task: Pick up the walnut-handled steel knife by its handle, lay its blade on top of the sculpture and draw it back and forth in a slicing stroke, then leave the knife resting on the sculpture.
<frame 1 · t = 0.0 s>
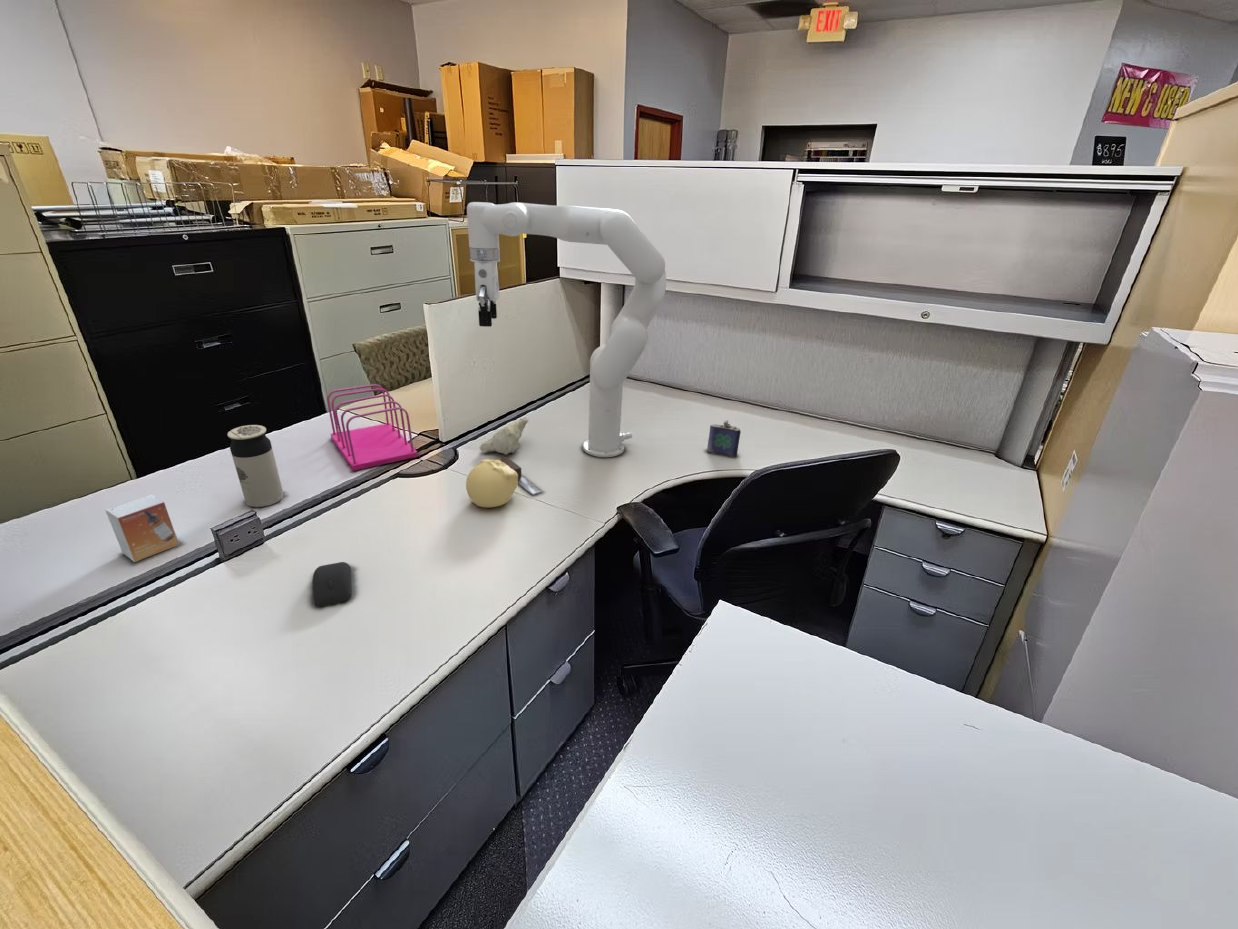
hand: (488, 322, 151), 37 cm above the table, tool pointing down, fingers open, 9 cm apart
white jagged rock: (507, 448, 168), on the table
knife: (517, 478, 151), on the table
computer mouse: (333, 587, 108), on the table
small box: (152, 550, 116), on the table
file sorter: (373, 448, 163), on the table
flask: (721, 454, 172), on the table
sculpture: (492, 501, 140), on the table
travel mug: (265, 500, 135), on the table
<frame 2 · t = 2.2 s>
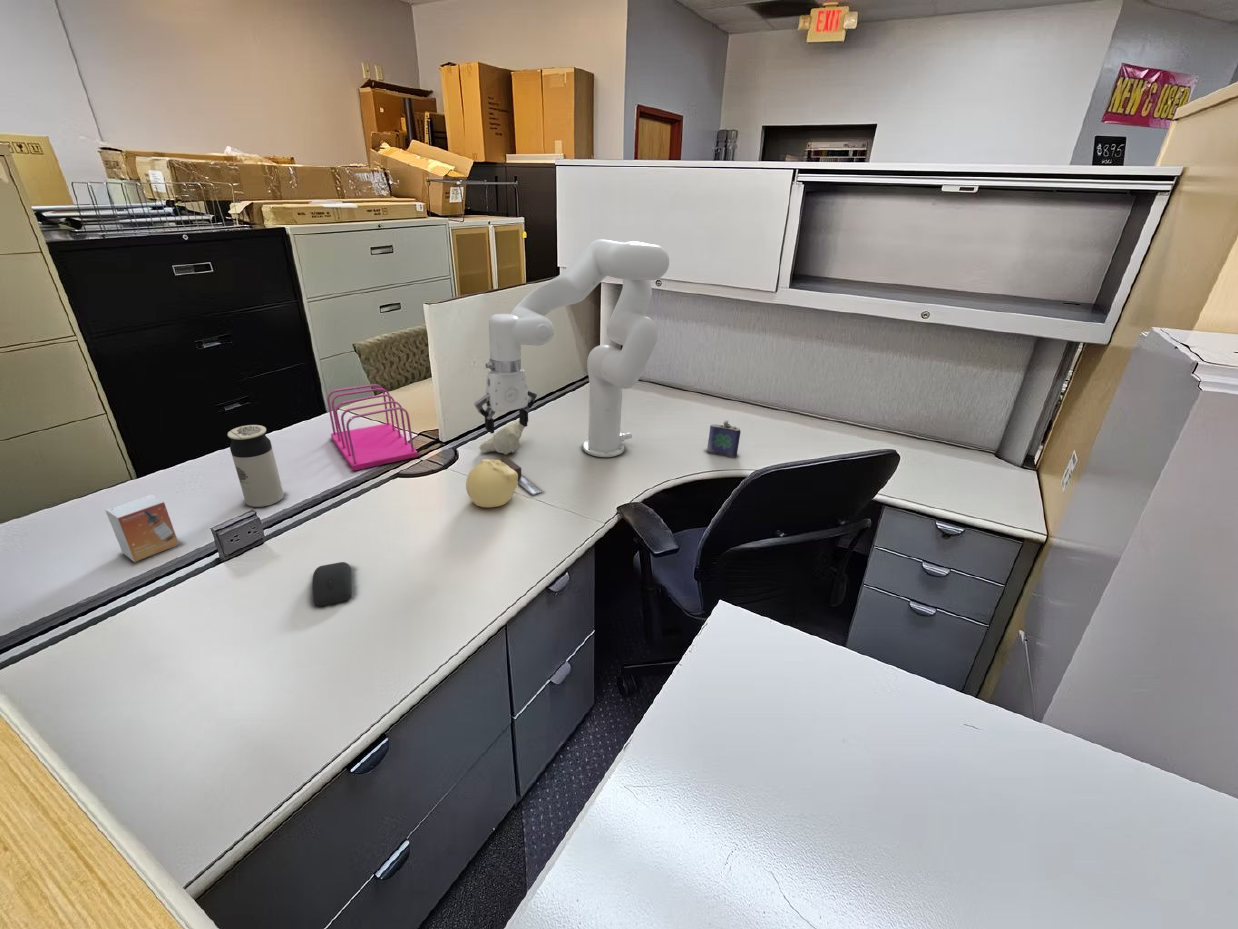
hand: (507, 428, 147), 13 cm above the table, tool pointing down, fingers open, 9 cm apart
nothing on the table moved.
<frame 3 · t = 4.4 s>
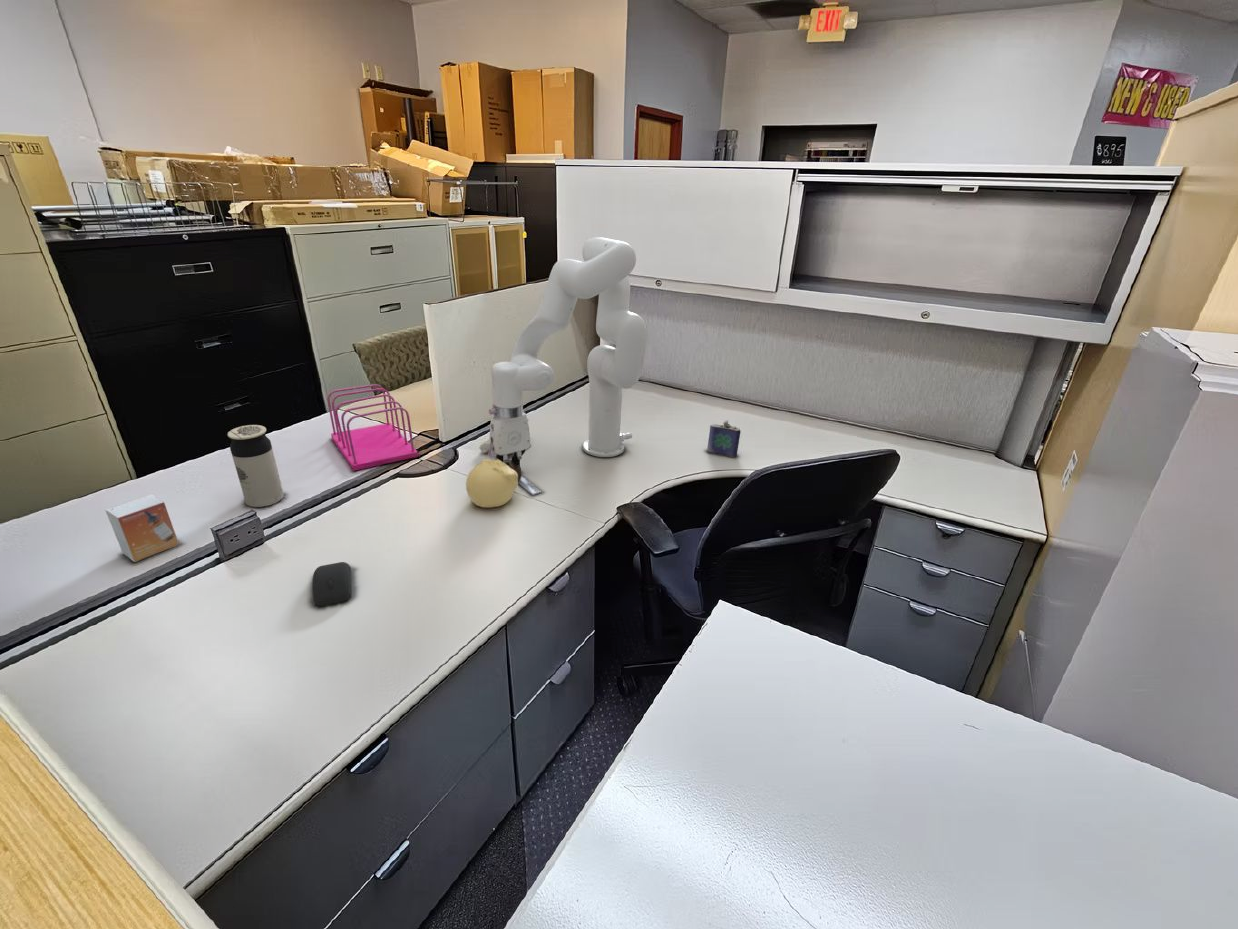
hand: (510, 472, 153), 0 cm above the table, tool pointing down, fingers closed on knife, 2 cm apart
knife: (518, 478, 151), on the table, touching gripper
everything else where it was.
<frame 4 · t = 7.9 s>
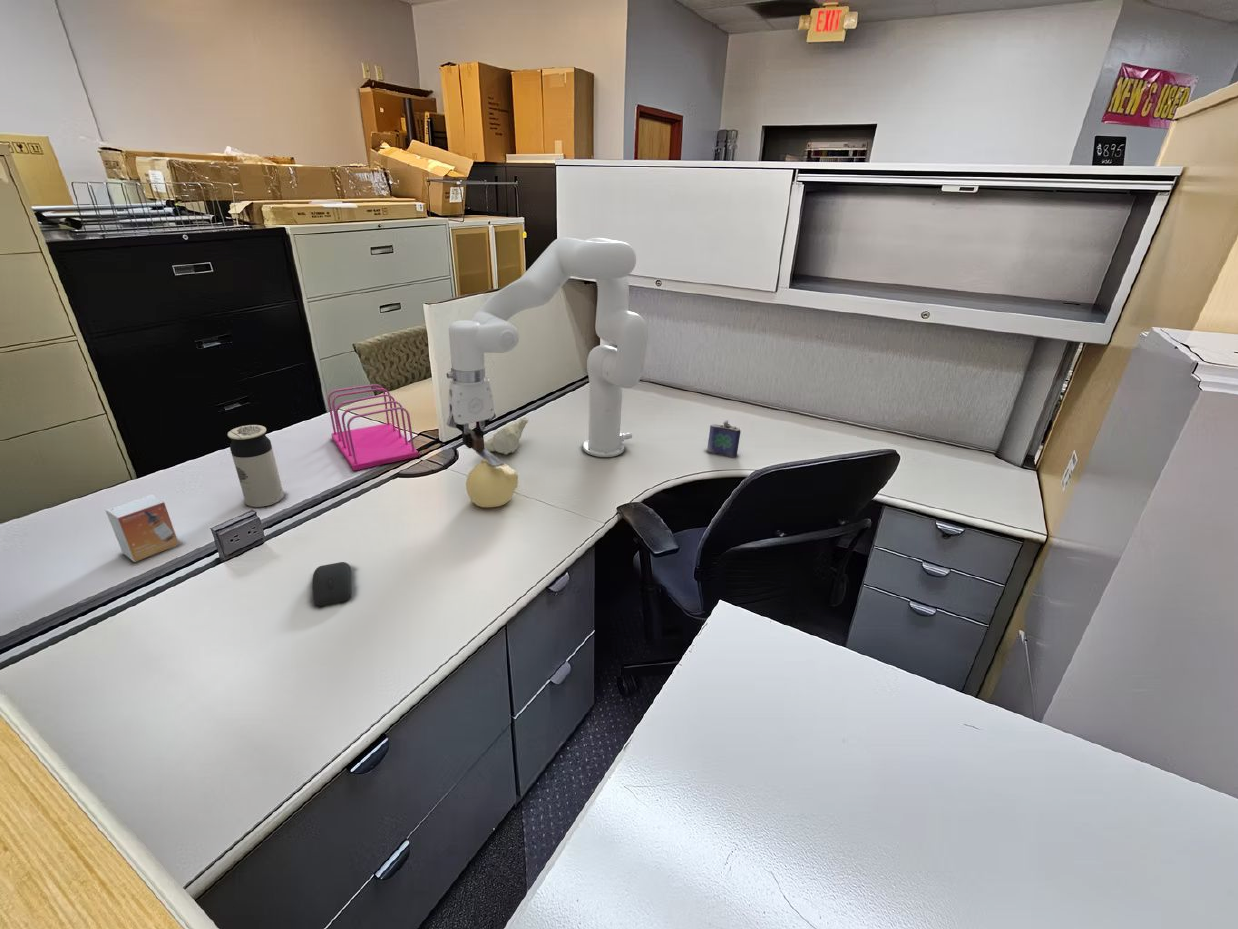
hand: (473, 444, 140), 12 cm above the table, tool pointing down, fingers closed on knife, 2 cm apart
knife: (480, 451, 138), point 12 cm above the table, touching gripper
everything else where it was.
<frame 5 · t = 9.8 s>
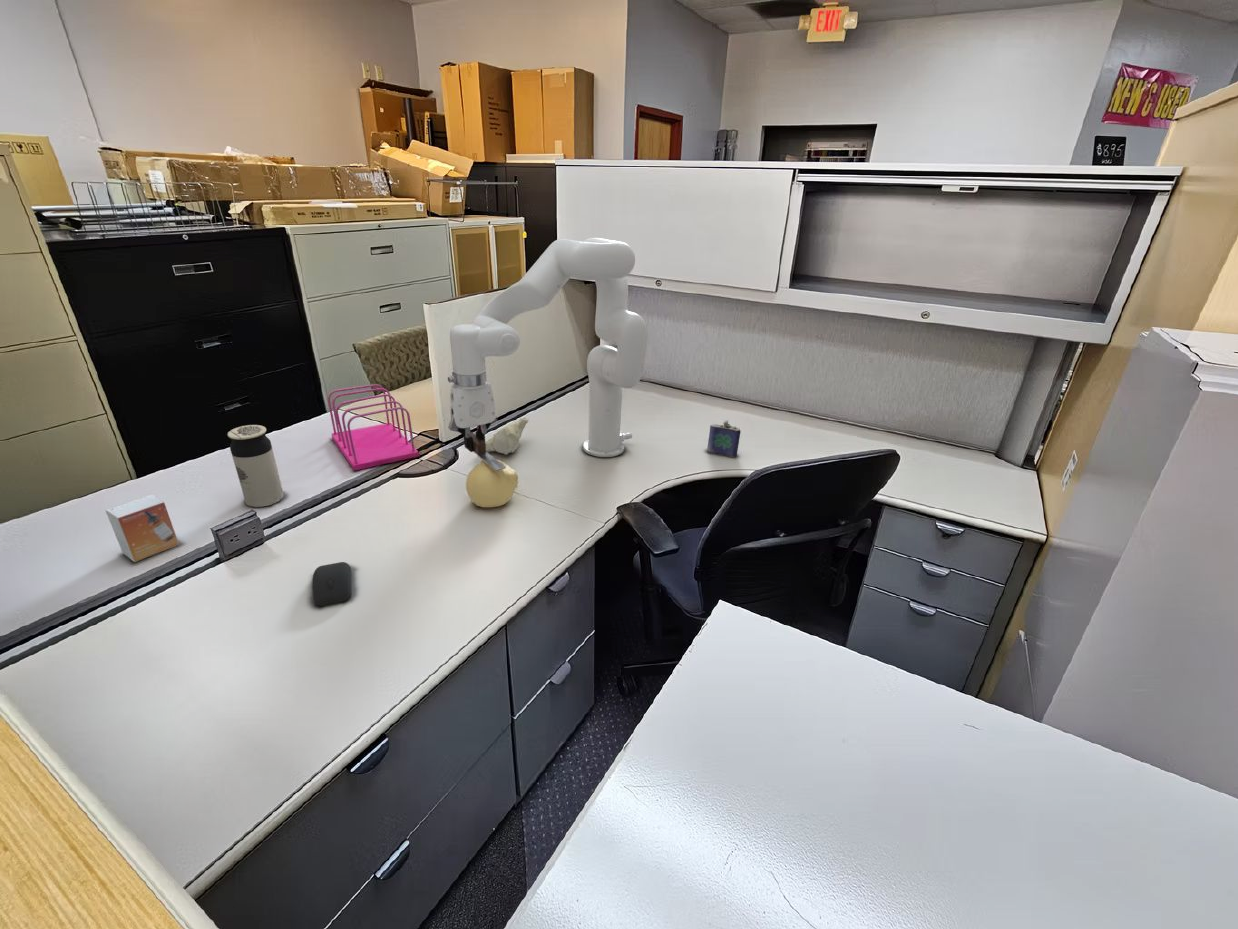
hand: (475, 448, 140), 11 cm above the table, tool pointing down, fingers closed on knife, 2 cm apart
knife: (482, 454, 138), point 11 cm above the table, touching gripper
everything else where it was.
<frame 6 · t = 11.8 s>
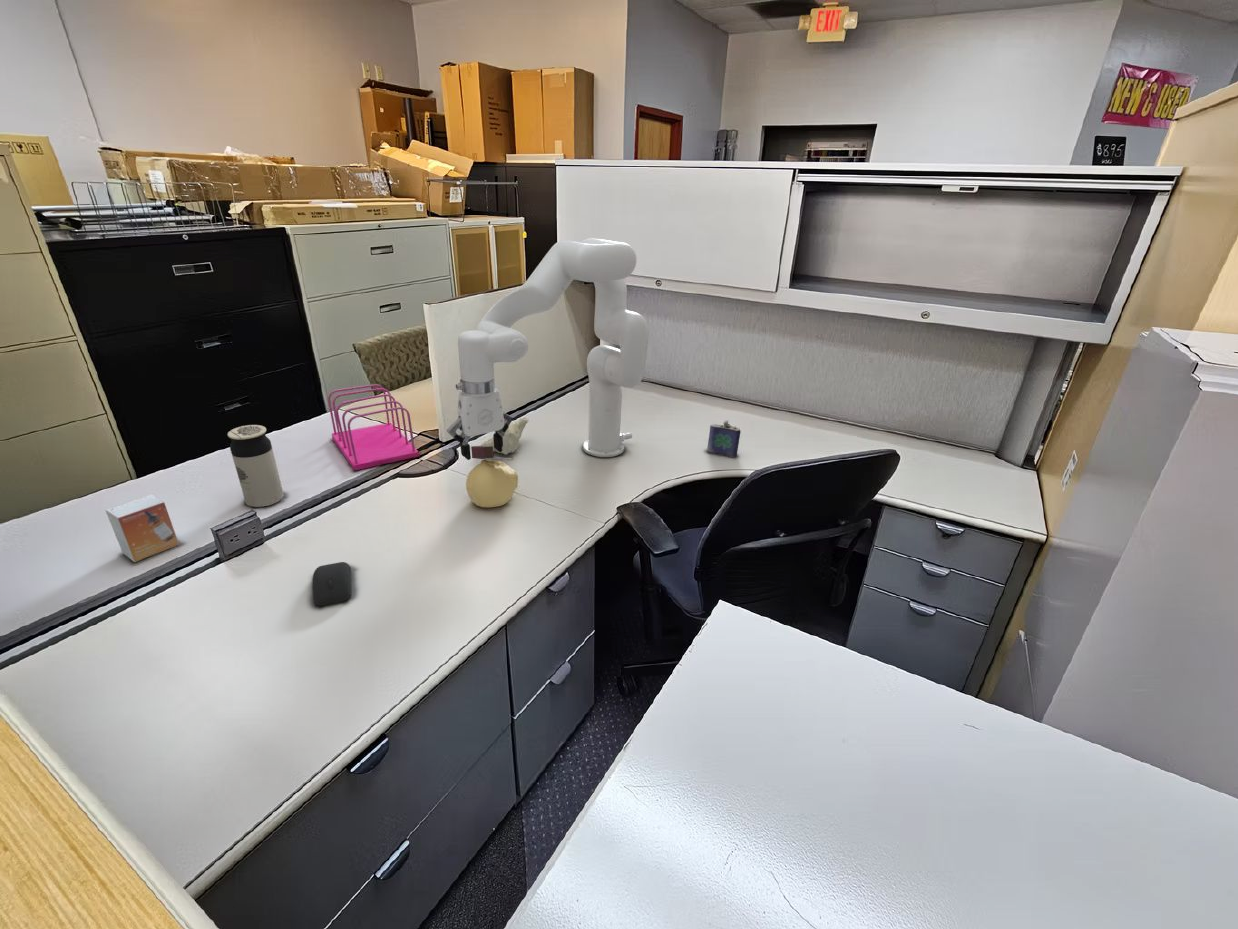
hand: (482, 453, 137), 12 cm above the table, tool pointing down, fingers open, 7 cm apart
knife: (489, 459, 134), point 12 cm above the table, tilted 22°
everything else where it was.
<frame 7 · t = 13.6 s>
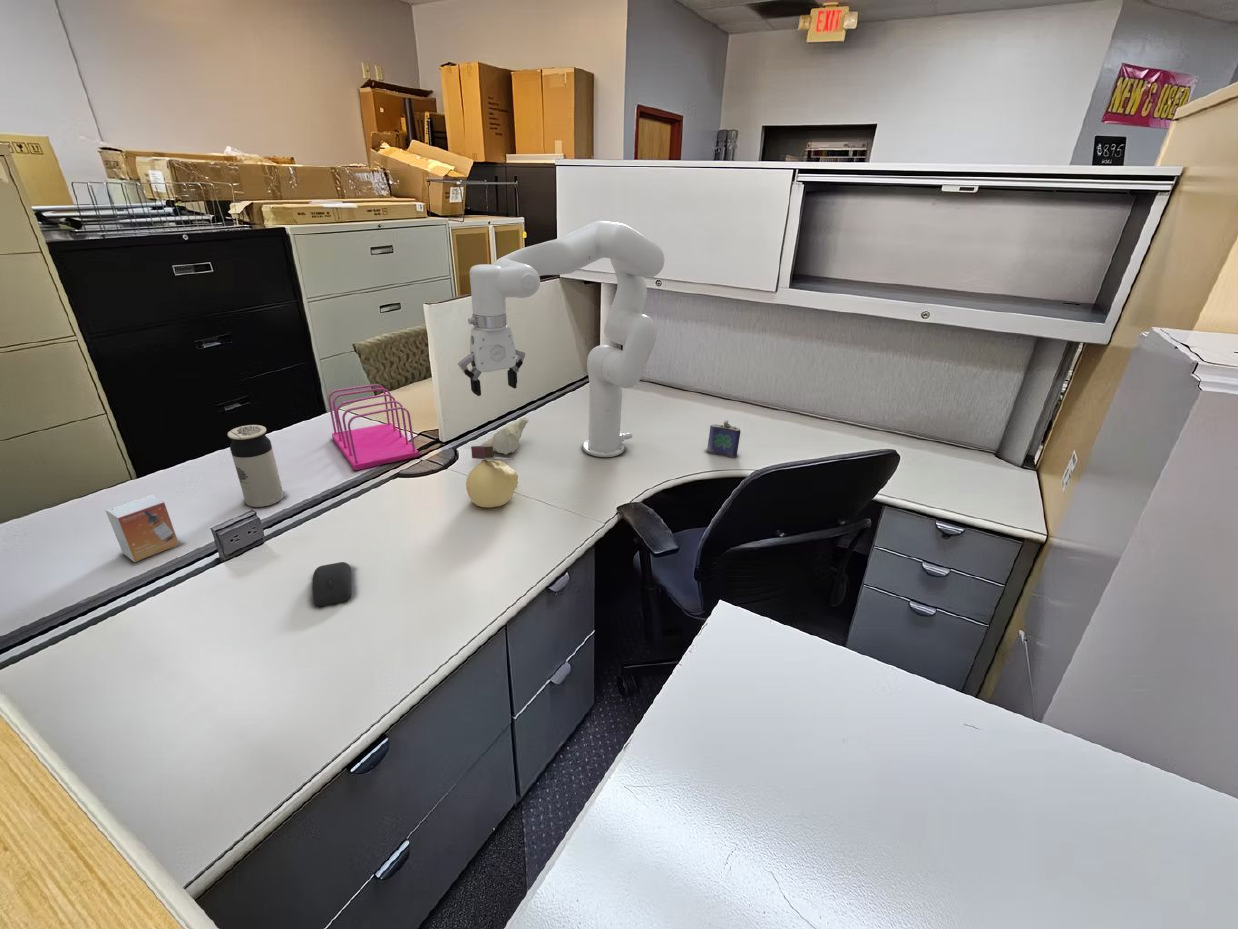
hand: (495, 390, 138), 25 cm above the table, tool pointing down, fingers open, 9 cm apart
knife: (489, 458, 135), point 12 cm above the table, tilted 22°, touching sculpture
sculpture: (492, 501, 140), on the table, touching knife
everything else where it was.
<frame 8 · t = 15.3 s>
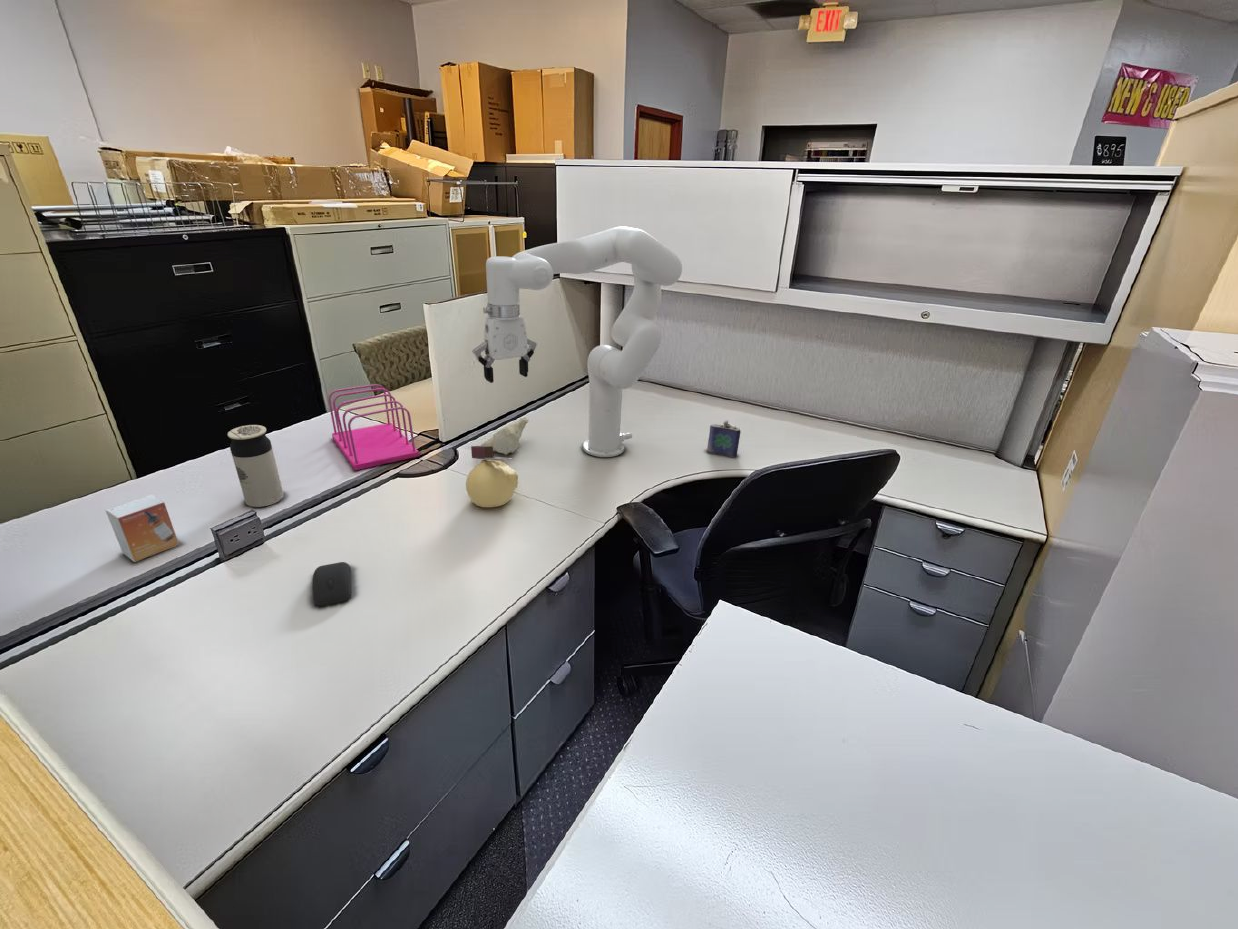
hand: (506, 378, 144), 26 cm above the table, tool pointing down, fingers open, 9 cm apart
nothing on the table moved.
at the end: knife touching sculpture; knife point 11.6 cm above the table; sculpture moved 0.2 cm from its start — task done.
